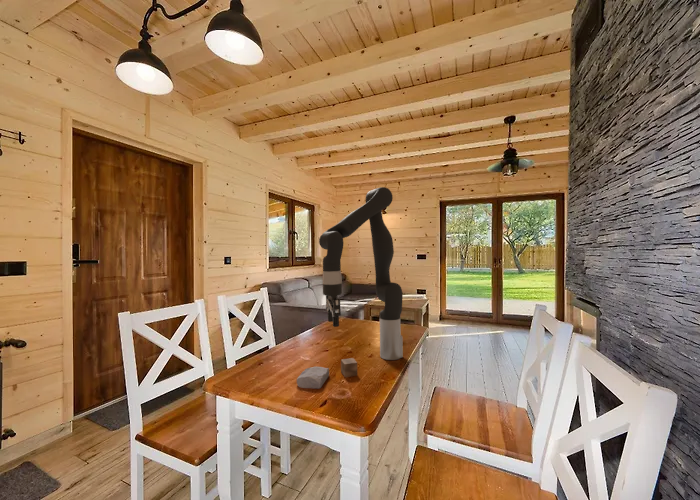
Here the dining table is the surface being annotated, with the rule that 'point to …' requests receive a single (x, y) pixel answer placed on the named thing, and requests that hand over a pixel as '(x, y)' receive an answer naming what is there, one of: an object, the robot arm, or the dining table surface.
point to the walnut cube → (349, 367)
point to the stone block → (313, 377)
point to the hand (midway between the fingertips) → (333, 323)
